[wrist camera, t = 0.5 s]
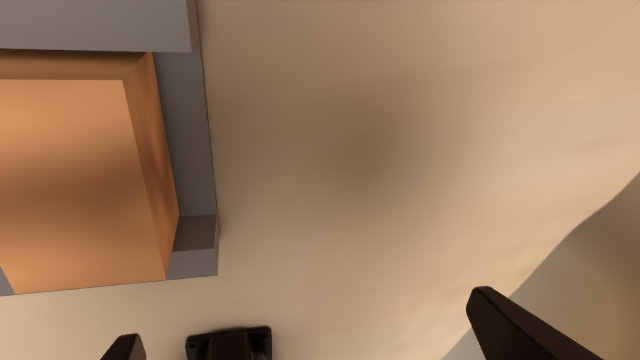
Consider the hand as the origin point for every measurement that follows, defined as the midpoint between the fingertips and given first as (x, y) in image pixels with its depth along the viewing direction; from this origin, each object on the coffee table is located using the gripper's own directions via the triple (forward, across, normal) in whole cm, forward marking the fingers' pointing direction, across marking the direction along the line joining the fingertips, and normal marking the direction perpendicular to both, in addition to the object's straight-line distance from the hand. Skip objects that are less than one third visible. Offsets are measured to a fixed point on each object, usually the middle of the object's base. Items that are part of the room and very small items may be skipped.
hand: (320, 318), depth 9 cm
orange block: (+13, +8, 0) cm, 15 cm away
